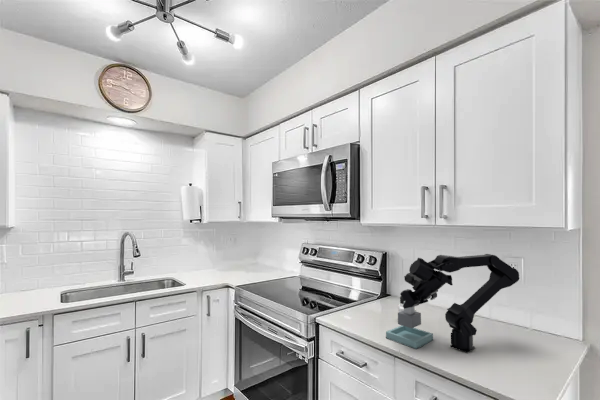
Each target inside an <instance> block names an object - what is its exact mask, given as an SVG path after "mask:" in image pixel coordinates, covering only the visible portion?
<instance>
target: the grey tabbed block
mask: <svg viewBox="0 0 600 400" xmlns="http://www.w3.org/2000/svg"><path fill="white" fill-rule="evenodd" d="M404 303H405V301H404ZM415 308H416V306H414V307H409V308H405V309H404V311H401V312H399V313H398V312H397V325H399V326H401V325H402V326H405V327H409V328H416V327H418V326H420V325H422V313H421V312H419V311H416V312H415Z"/></svg>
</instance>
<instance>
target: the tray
mask: <svg viewBox="0 0 600 400" xmlns="http://www.w3.org/2000/svg"><path fill="white" fill-rule="evenodd" d="M385 336H386V337H385V339H388V340H390V341H393V342H395V343H398V344H401V345H404V346H406V347H409V348H412V349H415V350H417V349H420V348H421V347H423V346H426V345H427V344H428V343H431V342H432V341H434V333H432V332H429V331H426V330H422V329H419V328H416V327H414V328H409V327H405V326H402V325H399V326H397V327H394V328H392V329H389V330H387V331H386V332H385Z"/></svg>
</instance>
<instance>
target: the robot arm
mask: <svg viewBox="0 0 600 400" xmlns="http://www.w3.org/2000/svg"><path fill="white" fill-rule="evenodd" d="M477 267H486V268H487V269H488V270H489V271H490V274H489V277H488V280H487V281H486V282H485V283H484V284H483V285H481V287H480V288H478V289H477V290H476V291H475V292H474V293H473V294H472V295H471V296H470V297H469V298H467V299H466V300H465V301H464V302H463V303H462V304H460V303H459V304H458V303H457V302H454V303H452V305H451V306H449V307H448V308H446V310H447V311H446V312H445V321H446V323H448V325H449V328H452V329H451V332H450V346H449V347H450V348H451V349H454V350H455V349H456V350H458V351H461V352H464V353H466V354H469V353H470V352H472V351H473V350H474V349H476V347H475V346H474V336H476V333H477V328H476V327H475V326H474V325H473V324H472V323H473V322H474V317H475V315H476V313H477V312H478V311H479V310H481V309H482V308H483V307H484V305H486V304H487V303H488V302H489V301H490V300H491V299H492V298H493V297H494V296H496V294H497V293H498V292H500V291H501V290H503V289H505V288H509V287H512V286H513V285H514V284H516V283H517V282H518V281H520V273H519V270H517V269H516V268H514V267H512V266H511V265H510V264H508V263H506V262H505V261H503V260H502V259H501V258H500V257H498V256H497V255H495V254H491V253H484V254H477V255H476V254H475V255H466V256H453V255H445V254H439V255H436V256H435V258H434V259H432V260H430V261H428V262H427V261H426V260H424V259H423V258H421V257H417V259H416V260H415V261H413V262H412V263H411V265H410V266H409V270H408V271H409V272H407V273H406V274H405V275H404V277H403V278H404V282H406V283H408V284H410V285H411V286H412V287H411V289H408V288H407V289H404V290H402V291H401V292H400V296H402V298H403V299H404V300H405V303H404V305H403V307H404V309H405V308H409V307H414V306H415V307H417V306H420V305H422V304H425V303H428V302H429V300H430V301H433V300H435V299H436V298H437V297H438V292H439V290H440V289H441V288H442V287H443V286H444V285H446V284H447V285H450V286H453V277H452V275H451V274H447V273H455V272H459V270H461V269H464V268H477ZM444 272H445V273H444ZM412 289H413V290H412Z"/></svg>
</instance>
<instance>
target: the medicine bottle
mask: <svg viewBox="0 0 600 400" xmlns="http://www.w3.org/2000/svg"><path fill="white" fill-rule="evenodd" d="M399 298H400V299H399V302H400V303H399V304H397V310H398V311H397V314H398V313H399V312H401V311H404V307H403V305H404V301H405V300H404V299H403V298H402V296H401V295H400V296H399ZM415 312H417V309H416V307H415Z"/></svg>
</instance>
